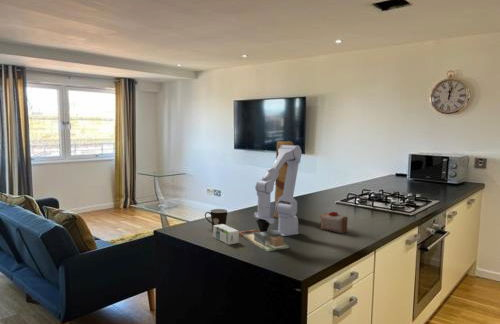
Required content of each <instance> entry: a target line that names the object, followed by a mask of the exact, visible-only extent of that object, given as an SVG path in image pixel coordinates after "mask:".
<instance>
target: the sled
mask: <svg viewBox="0 0 500 324" xmlns="http://www.w3.org/2000/svg"><path fill="white" fill-rule="evenodd" d="M267 231H268V230H267ZM267 231H265V232H267ZM284 243H285V239H284V237H282V236H281V237H280V236H276V237H271V236H266V237H265V244H267V245H269V246H270V247H272V248H274V249H275V248H281V247H284Z"/></svg>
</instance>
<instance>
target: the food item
mask: <svg viewBox="0 0 500 324" xmlns="http://www.w3.org/2000/svg"><path fill="white" fill-rule="evenodd" d="M348 218H349V217H348V216H345V215H340V214H338V212H337V211H331V212H329V213H327V212H325V213H324V212H323V213H321V214H320V229H321V230H322V231H323V230H324V231H328V230H329V232H332V231H333V232H334V233H337V232H338V233H337V234H341V233H343V234H345V233H347V232H346V231H348V220H349V219H348ZM344 232H345V233H344Z"/></svg>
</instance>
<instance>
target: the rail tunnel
mask: <svg viewBox="0 0 500 324" xmlns="http://www.w3.org/2000/svg"><path fill="white" fill-rule="evenodd" d="M266 236H271V237H276V236H280V237H282V235H281V232H279V231H278V230H273V229H268V230H267V232H260V230H259V229H251V230H243V231H239V237H242V238H243V239H245V240H247V241H248V242H249V243H252V244H254V245H255V246H257V247H258V248H260V249H262V250H264V251H266V252H272V251H279V250H285V249H289V247H290V246H289V245H288V244H286V242H284V247H281V248H275V249H274V248H272V247H270V246H269V245H267V244H265V237H266Z"/></svg>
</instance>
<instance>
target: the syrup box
mask: <svg viewBox="0 0 500 324" xmlns="http://www.w3.org/2000/svg"><path fill="white" fill-rule="evenodd" d="M212 232H213V233H212V234H213V238H215V239H216V240H219V241H221V242H223V243H224V244H227V245H235V244H239V243H240V241H239V239H240V236H239V232H240V231H239V230H238V229H236V228H233V227H231V226H228V225H227V224H226V225H224V224H218V225H213V229H212Z"/></svg>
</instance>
